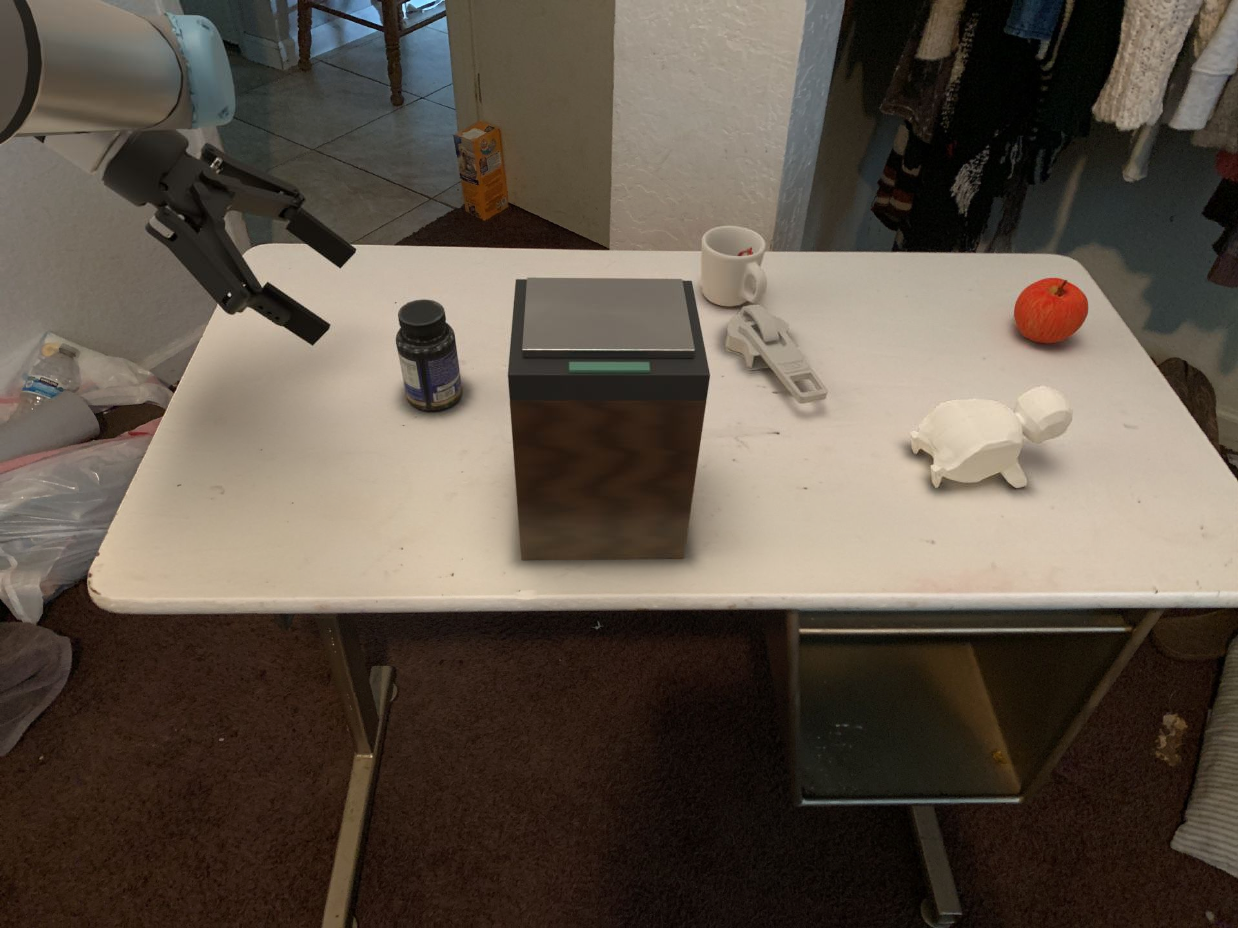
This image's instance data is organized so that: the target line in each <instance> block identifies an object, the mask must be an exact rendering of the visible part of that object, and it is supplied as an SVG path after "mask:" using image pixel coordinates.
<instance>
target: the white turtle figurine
mask: <svg viewBox="0 0 1238 928" xmlns="http://www.w3.org/2000/svg"><path fill="white" fill-rule="evenodd" d="M1069 401H1070V400H1068V398H1067V397H1066V396H1065V395H1063V393H1062V392H1061V391H1058V390H1057V389H1054V388H1052V387H1049V386H1048V385H1039V386H1035V387H1032V388H1031V389H1029V390H1027V391H1026V392H1024V393H1023V394H1021V395H1020V396H1019V397H1017V398H1016V400H1015V402H1014V406H1013V410H1012V409H1011V408H1010V407H1008V406H1007V405H1005V404H1003V403H1001V402H999V401H998V400H994V399H982V398H977V397H972V398H970V399H969V398H968V399H966V398H965V399H952V400H951V399H950V400H945V401H943V402H941V403H940V404H938V405H937V406H935V407H934V408H933V409H932V410H931V411H930V412H929V413H928V415H927V416H926V417H925V418H923V420H922V421H921V422H920V423H919V425H918V427H917V430H910V432H909V435H910V438H911V440H910V445H911V451H912V452H913V454H914V455H917V454H918V452H919V450H923V451H924V452H925V453H927V454H928V455H930V456H931V457H932V459H933V464H931V465H930V475H931V483H932V485H933V486H934V488H935V489H937V488H939V486H940V484H941V482H942V478H945V479H947V480H951V481H955V482H958V483H959V482H960V483H969V484H970V483H977V482H980V481H982V480H985V479H987V478H988V477H991V476H993V475H994V476H995V475H996V474H998V473H1000V474H1001V475H1002V477H1003V478H1004V479H1005V480H1006V482H1007V483H1008V484H1010V485H1011V486H1012V487H1014V488H1016V489H1020V488H1023V487H1025V486H1027V485H1028V479H1027V477H1026V474H1025V472H1024V471H1023V469H1022V467H1021V465H1020V463H1019V461H1018V458H1019V456H1020V453H1021V451H1022V448H1023V444H1024V437H1025V438H1026V439H1027V440H1028V441H1030V442H1032V443H1034V444H1036V445H1038V444H1039V445H1040V444H1041V443H1043V442H1045V441H1049V440H1053V439H1056V438H1058V437H1060V436H1062V435H1064V434H1065V433H1066V432H1067V430H1068V428H1069V427H1070V425H1071V423H1072V421H1073V408H1072V405H1071V403H1070V402H1069Z"/></svg>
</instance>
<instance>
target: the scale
mask: <svg viewBox="0 0 1238 928" xmlns="http://www.w3.org/2000/svg"><path fill="white" fill-rule="evenodd" d="M507 366H508V368H507V382H508V383H507V384H508V396H509V397H508V398H509V402H510V401H706V402H707V401H708V395H709V394H708V393H709V386H710V378H711V372H710V367H709V362H708V357H707V351H706V347H705V342H704V337H703V331H702V326H701V320H700V316H699V311H698V305H697V300H696V295H695V289H694V285H693V280H683V279H682V278H637V277H635V278H630V277H629V278H628V277H627V278H625V277H624V278H623V277H622V278H621V277H620V278H619V277H617V278H616V277H615V278H614V277H526V278H522V279H521V278H516V279H515V285H514V296H513V307H512V320H511V333H510V343H509V356H508V365H507Z"/></svg>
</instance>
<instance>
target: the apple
mask: <svg viewBox="0 0 1238 928" xmlns="http://www.w3.org/2000/svg"><path fill="white" fill-rule="evenodd" d="M1088 313H1089V300H1088V297H1087V296H1086V294H1085V292H1083V291H1082V290H1081V288H1080V287H1078V286H1077V285H1075V284H1074V283H1071V282H1069V281H1068V280H1067V279H1064V278H1060V277H1046V278H1042V279H1039V280H1037V281H1034V282H1033V283H1031V284H1029V285H1028V286H1026V287H1025V288H1024V289H1023V290H1022V291H1021V292H1020V294H1019V295H1018V297H1017V298H1016V300H1015V303H1014V309H1013V318H1014V323H1015V325H1016V328H1017V330H1018V331H1019V332H1020V334H1021V335H1022V336H1023V337H1025V338H1026V339H1028V340H1031V341H1032V342H1036V343H1040V344H1054V343H1059V342H1062V341H1065V340H1067V339H1069V338H1070V337H1071V336H1073V335H1074V334H1075V333H1077V332H1078V331H1079V330H1080V328H1081V327H1082V326H1083V324H1084V323H1085V321H1086V319H1087V317H1088Z"/></svg>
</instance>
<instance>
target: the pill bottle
mask: <svg viewBox="0 0 1238 928" xmlns="http://www.w3.org/2000/svg"><path fill="white" fill-rule="evenodd" d="M397 318H398V324H399V327H400V328H399V329H398V330H397V332H396V336H395V344H396V350H397V356H398V360H399V366H400V370H401V375H402V379H403V386H404V390H405V397H406V399H407V401H408V402H409V404H410V405H411V406H413V407H414V408H416V409H418V410H421V411H433V412H434V411H440V410H444V409H447V408H450V407H451V406H454V405H455V404H457V402H458V401H459V400H460V399H461V397H462V395H463V394H462V393H463V385H462V377H461V371H460V363H459V355H458V348H457V340H456V333H455V330H454V329H453V328H452V326H451V325H450V324H449V323H448V322H447V317H446V311H445V307H444V306H443V305H442V304H441V303H440V302H438V301H436V300H433V299H427V298H426V299H425V298H424V299H423V298H422V299H415V300H411V301H408V302H407V303H405V304H403V305H402V306H401V307H400V308H399V310H398V312H397Z"/></svg>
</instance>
